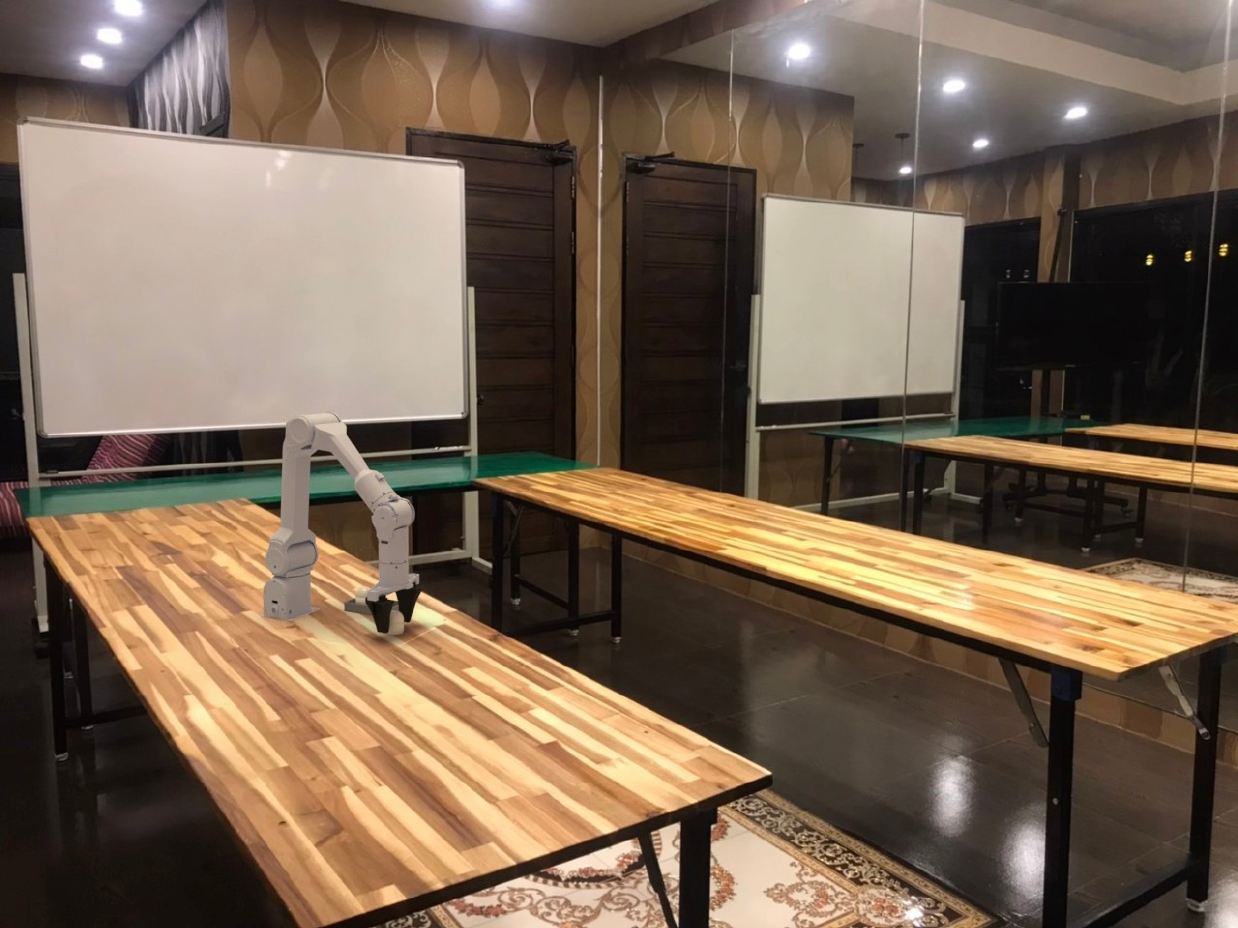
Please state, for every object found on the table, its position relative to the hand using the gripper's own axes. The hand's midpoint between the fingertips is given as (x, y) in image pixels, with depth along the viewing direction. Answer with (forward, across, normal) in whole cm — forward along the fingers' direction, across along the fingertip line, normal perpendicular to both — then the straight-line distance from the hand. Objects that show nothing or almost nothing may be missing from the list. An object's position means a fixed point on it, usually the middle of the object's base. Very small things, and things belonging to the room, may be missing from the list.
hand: (394, 626), depth 186 cm
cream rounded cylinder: (+2, 0, 0) cm, 2 cm away
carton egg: (+1, +10, +15) cm, 18 cm away
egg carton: (+1, +10, +12) cm, 16 cm away
